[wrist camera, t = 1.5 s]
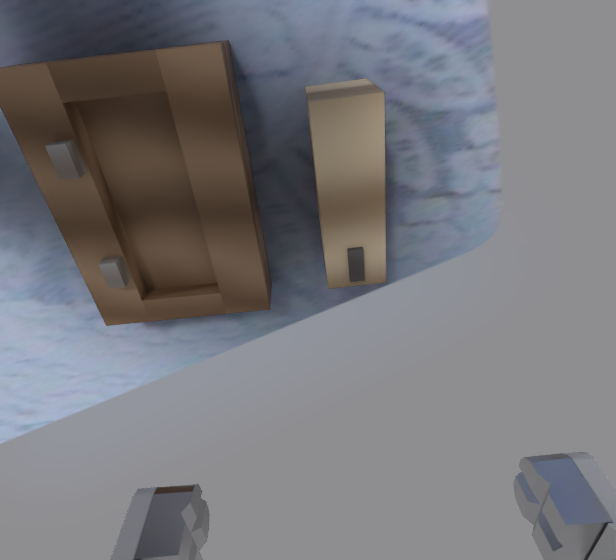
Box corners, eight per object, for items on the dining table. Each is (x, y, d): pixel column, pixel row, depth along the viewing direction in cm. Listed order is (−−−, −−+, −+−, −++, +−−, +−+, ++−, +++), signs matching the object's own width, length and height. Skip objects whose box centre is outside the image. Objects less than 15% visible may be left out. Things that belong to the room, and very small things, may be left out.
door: (305, 86, 26) (308, 103, 21) (366, 78, 26) (385, 93, 21) (322, 247, 33) (328, 292, 27) (371, 241, 32) (387, 285, 27)
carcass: (19, 64, 25) (-30, 72, 21) (228, 40, 24) (217, 44, 21) (121, 299, 34) (101, 334, 31) (271, 284, 34) (269, 317, 30)
